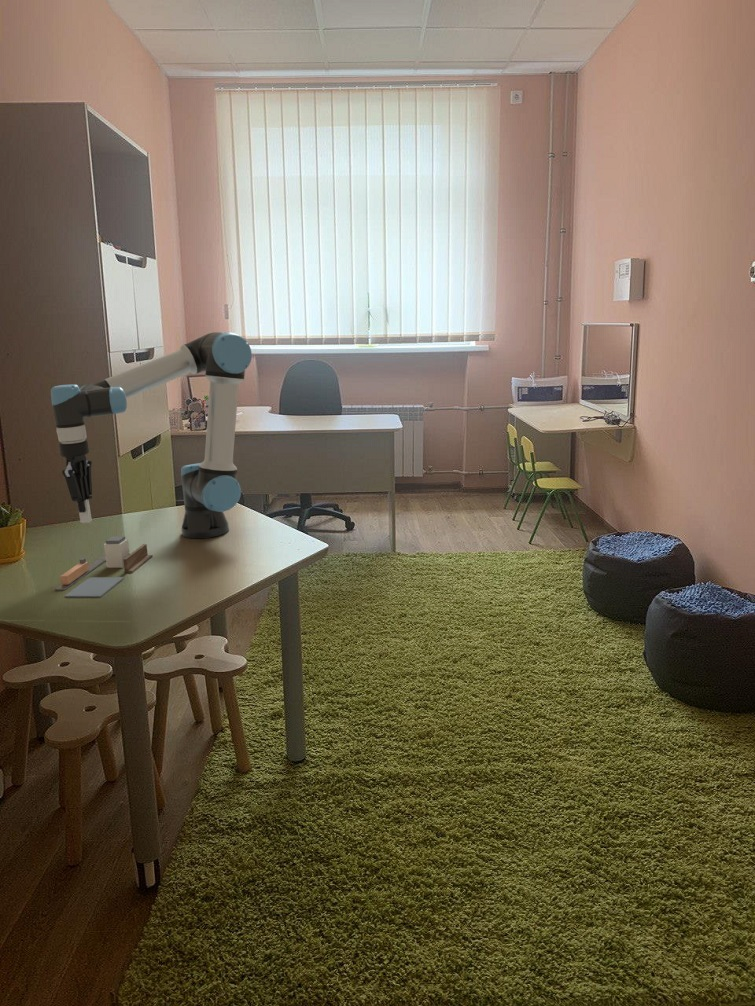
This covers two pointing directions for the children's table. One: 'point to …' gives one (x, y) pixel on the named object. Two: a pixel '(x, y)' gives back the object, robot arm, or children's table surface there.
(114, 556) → the plug block
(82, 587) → the felt mat
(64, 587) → the track
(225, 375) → the robot arm
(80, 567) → the bar
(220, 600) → the children's table surface
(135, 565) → the fence
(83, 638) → the children's table surface
